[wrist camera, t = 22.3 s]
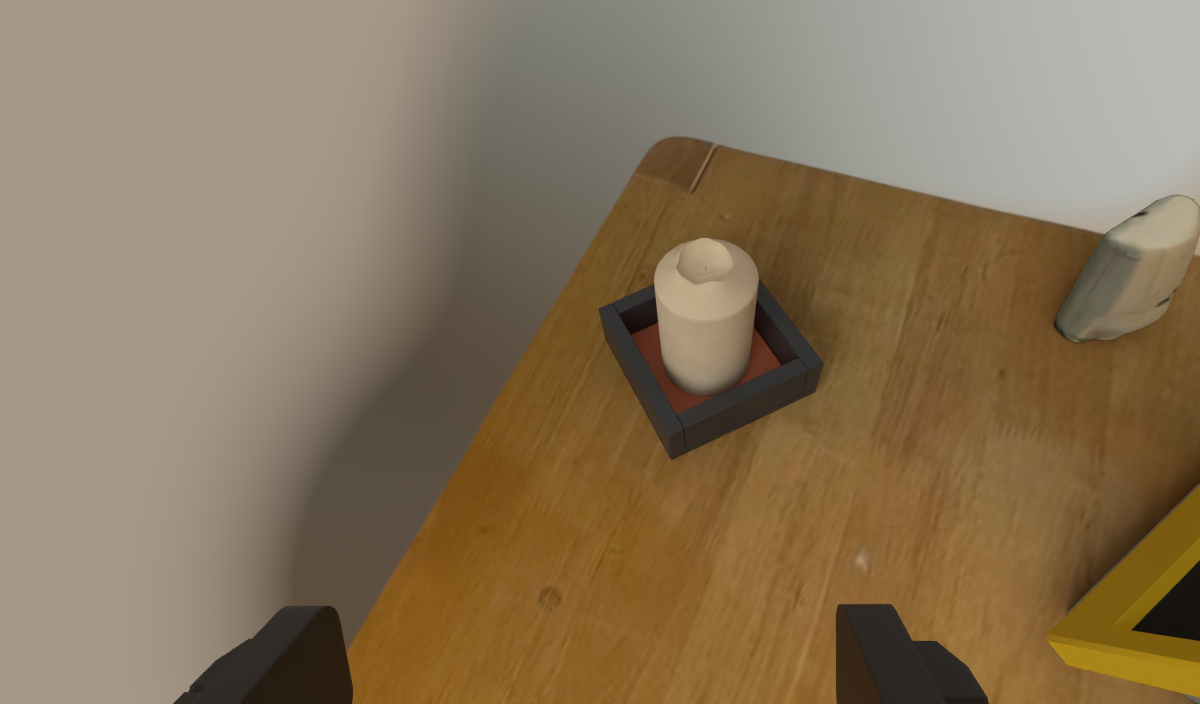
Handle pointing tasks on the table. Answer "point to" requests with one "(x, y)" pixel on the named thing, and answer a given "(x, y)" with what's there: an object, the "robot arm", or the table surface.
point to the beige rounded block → (1132, 272)
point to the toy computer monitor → (1144, 610)
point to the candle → (706, 314)
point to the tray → (690, 420)
